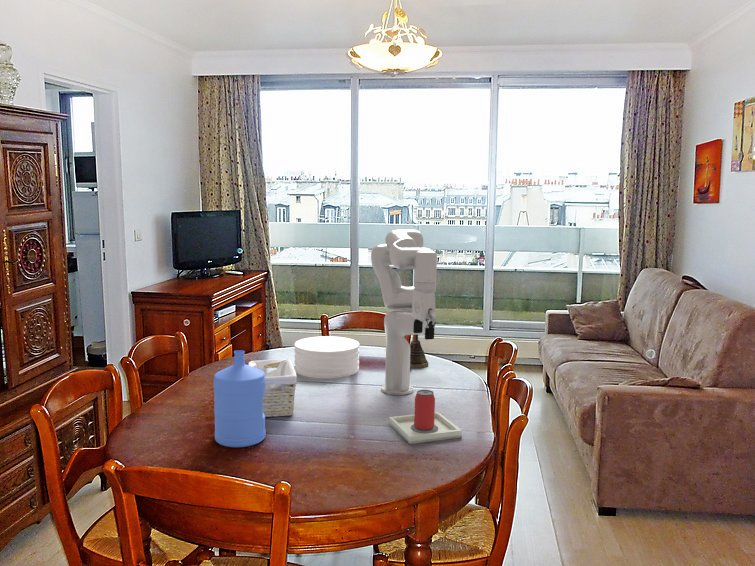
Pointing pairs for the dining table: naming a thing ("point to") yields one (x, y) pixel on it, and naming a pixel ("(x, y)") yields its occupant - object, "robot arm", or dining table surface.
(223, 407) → the water jug
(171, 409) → the dining table surface
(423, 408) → the beer can
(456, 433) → the coaster tray
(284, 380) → the storage basket
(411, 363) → the bird statue
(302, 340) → the plate stack
